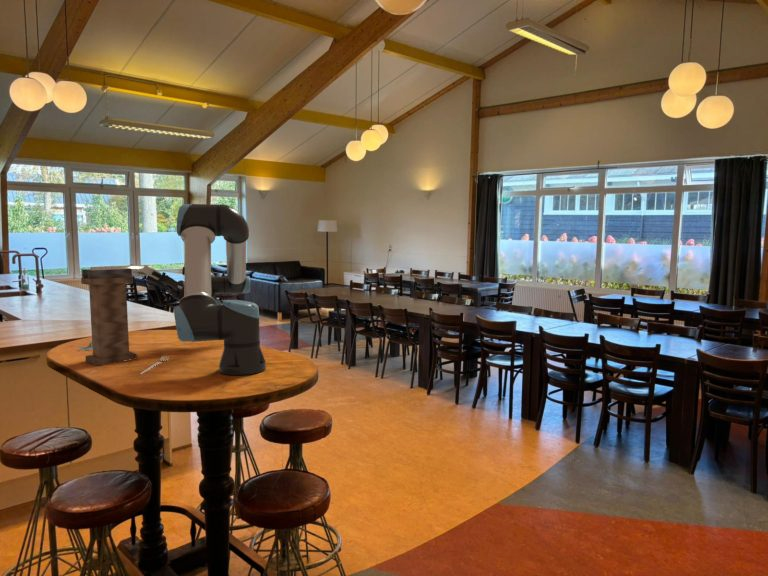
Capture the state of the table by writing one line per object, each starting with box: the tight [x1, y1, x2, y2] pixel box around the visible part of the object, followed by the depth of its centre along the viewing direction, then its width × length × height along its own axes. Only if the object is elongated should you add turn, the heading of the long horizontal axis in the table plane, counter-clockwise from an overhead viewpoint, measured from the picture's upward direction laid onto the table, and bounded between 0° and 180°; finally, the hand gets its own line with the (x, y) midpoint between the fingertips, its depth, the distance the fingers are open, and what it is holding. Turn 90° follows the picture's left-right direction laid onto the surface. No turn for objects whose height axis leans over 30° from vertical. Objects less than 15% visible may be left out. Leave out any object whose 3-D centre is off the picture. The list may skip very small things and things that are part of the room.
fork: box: [139, 355, 170, 375], centre depth 182 cm, size 3×20×2 cm, turn 179°
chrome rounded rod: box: [89, 264, 152, 277], centre depth 192 cm, size 20×4×4 cm, turn 136°
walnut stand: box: [80, 268, 138, 367], centre depth 190 cm, size 14×10×33 cm
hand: (136, 267), depth 196 cm, fingers open, 13 cm apart
